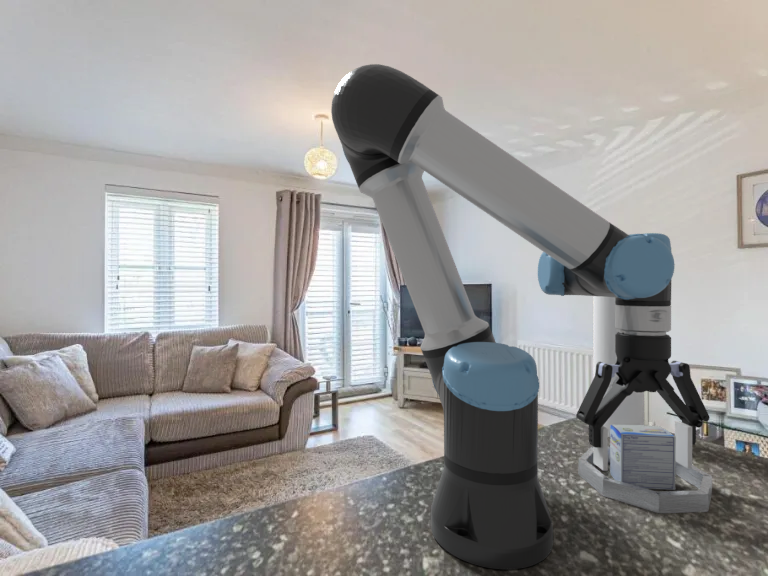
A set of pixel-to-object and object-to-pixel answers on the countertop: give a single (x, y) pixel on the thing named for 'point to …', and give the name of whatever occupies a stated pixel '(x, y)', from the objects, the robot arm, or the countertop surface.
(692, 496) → the collar
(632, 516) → the countertop surface
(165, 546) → the countertop surface
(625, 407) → the cylinder container
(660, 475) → the medicine box
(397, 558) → the countertop surface
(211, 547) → the countertop surface
